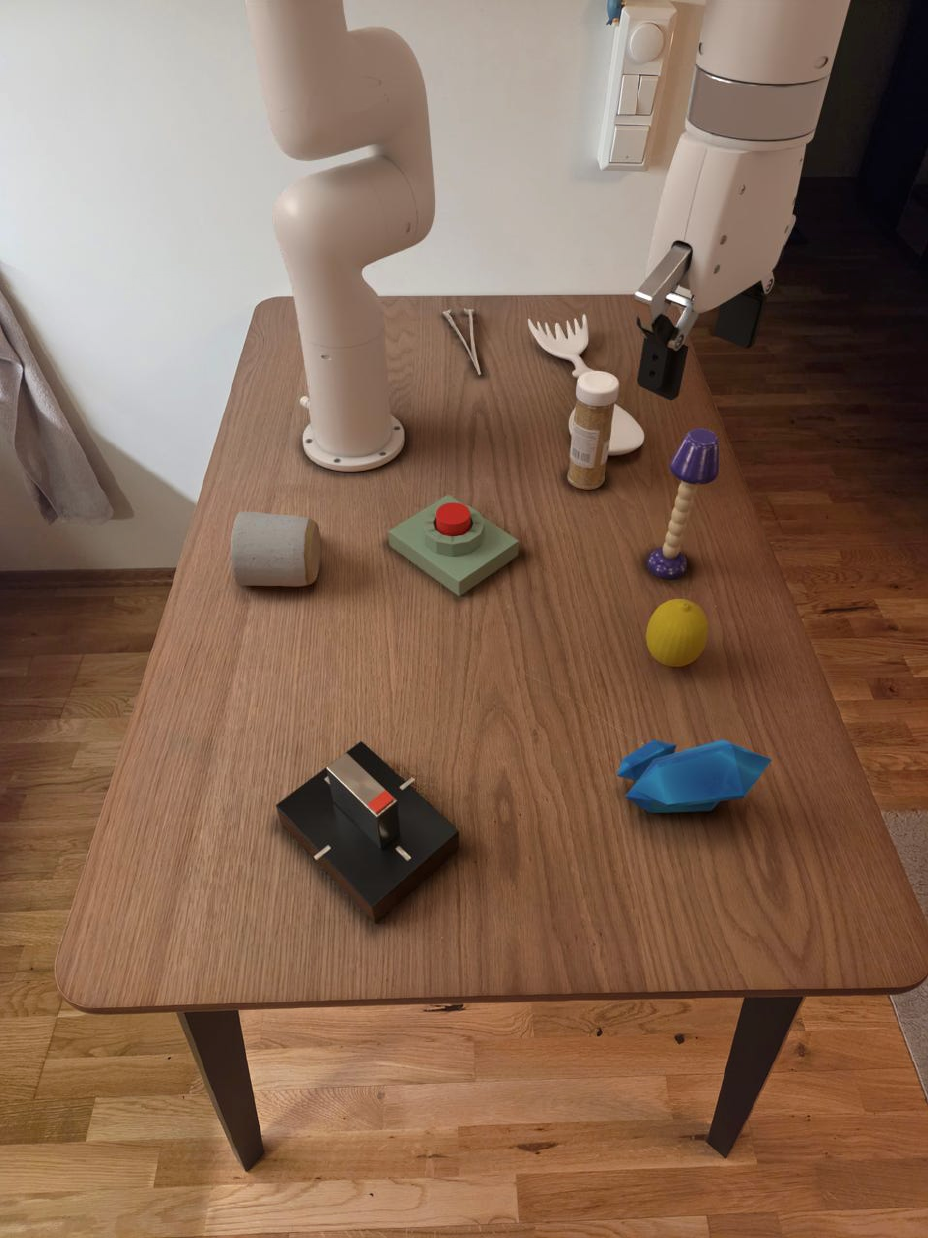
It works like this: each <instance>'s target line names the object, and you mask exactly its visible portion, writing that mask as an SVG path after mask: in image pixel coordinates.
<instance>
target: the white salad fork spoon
mask: <svg viewBox="0 0 928 1238" xmlns="http://www.w3.org/2000/svg"><path fill="white" fill-rule="evenodd" d="M573 321H574V331H573V329H572V327H571V324H570V321H569V320H566V331H567V332H566V333H567V336H566V335H565V332H564V331H563V329H562V326H561V325H560V324H559V323H558V322H556V323H555V324H554V332H555V337H554V335H553V334H552V331H551V329H550V326H549V324H548V322H547V321H546V322H545V323H544V326H545V330H544V329H543V327H542V325H541V323H540V321H537V322H536V323H537V325H536V326H537V328H536V327H535V325H534V323H533V322H532V320H531V318H528V319H527V325H528V328H529V330H530V333H531V334H532V336H533V337H534V338H535V340H536V342H537V343H538V345H539V346H540V347H541V348H542V349H543V350H544V351H545V352H547V353H548V354H550V355H551V356H554V357H556V358H558V359H562V360H566V361H570V362H572V364H573V366H574V368H575V369H574V370H572V372H571V374H572V377H573V378H574V379H578V378H579V377H580V376H581V375H582V374H584V373H586V372H590V371H595V370H594V369H592V368H590V367H588V366H587V365H586V364H585V362H584V360H583V359H582V357H581V356H580V355H582V353H583V352H584V351H585V349H586V348H587V347H588V345H589V325H588V319H587V316H586V314H584V313H583V314H582V327H581V326H580V324H579V322H578V319H577V318H576V317H574V320H573ZM574 333H575V334H574ZM575 409H576V406H575V407H574V409H573V410H572V412H571V414H570V416H569V418H568V430H569V433H570V436H571V437H572V431H573V422H574V416H575ZM644 441H645V433H644V431H643V428H642V427H641V426H640V424H639V423H638V422H637V421H636V419H635V418H634V417H633V416H632V415H631V414H630V413H628V412H627V411H626V410H625V409H623V408H622V407H621V406H619V405H618V404H616V403H615V404H614V411H613V417H612V425H611V435H610V442H609V450H608V456H622V455H626V454H629V453H631V452H633V451H635V450H637V449H639V448H640V447H641V445H643V443H644Z"/></svg>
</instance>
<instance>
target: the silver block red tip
mask: <svg viewBox="0 0 928 1238" xmlns="http://www.w3.org/2000/svg"><path fill="white" fill-rule="evenodd" d="M344 753H345V754H344ZM344 753H343V754H342V755H340V756H341V757H340V756H339V757H338V758H336V759H337V760H336V759H335V760H333V763H332V762H331V763H330V764H328V765H329V766H328V765H327V766H326V767H325V768H326V769H327V774H328V778H329V783H330V788H331V793H332V798H333V802H334V803H335V804H336V805H337V806H338V807H339V808H340V809H341V810H342V811H343V812H344V813H345V814H346V815H347V816H348V817H349V818H350V819H351V820H352V821H353V822H354V823H355V824H356V825H357V826H358V827H359V828H360V829H361V830H362V831H363V832H364V833H365V834H366V835H367V836H368V837H369V838H370V839H371V840H372V841H373V842H374V843H375V844H376V845H377V846H378V847H379V848H380V849H383V848H384V847H385V846H386V845H387V844H389V843H390V842H391V841H392V840H393V839H395V838H396V837H397V836H398V835H399V834H400V826H399V816H398V806H397V800H396V799H395V798H394V797H393V796H392V795H391V794H390V793H389V792H387V791H386V790H385V789H384V788H383V787H382V786H381V785H380V784H379V783H378V782H377V781H376V780H375V779H374V778H373V777H372V776H371V775H369V774H368V773H367V772H366V771H365V770H364V769H363V768H362V767H361V766H360V765H359V764H358V763H357V762H356V761H355V760H354V759H353V758H351V757H350V756H349V755H348V754H347V753H346V752H344Z"/></svg>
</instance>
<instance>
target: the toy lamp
mask: <svg viewBox="0 0 928 1238" xmlns="http://www.w3.org/2000/svg"><path fill="white" fill-rule="evenodd" d="M669 470H670V472H671V473H672V476H674V477H675V478H676V479H678V480H680V481H681V483H680V484H679V486H678V488H677V495H676V497H675V500H674V507H673V509H672V511H671V519H670V520H669V522H668V528H667V529H668V531H667V532H666V535H665V542H664V543H663V546H662V547H659V548H656V549H655V550H654V551H652V552H651V553H650V555H649V557H648V558H647V560H646V566H647V569H648V570H649V572H650V573H651V574H652V575H654V576H655V577H657V578H660V579H664V580H677V579H680V578H681V577H683V576H684V575H685V574H686V573H687V569H688V564H687V563H688V562H687V559H686V557H685V555H684V554H683V553H682V552H681V545H682V543H683V541H684V533H685V532H686V530H687V528H688V527H687V525H688V523H687V522H688V521H689V519H690V516H691V508H692V507H693V505H694V497H695V496H696V495H697V492H698V485H707V484H710V483H713V482H714V481H715V480H716V479H717V477H718V476H719V472H720V442H719V437H718V436H717V434H716V433H714V432H713V431H711V430H710V429H707V428H694V429H691V430H689V431H688V432H687V433H686V435H685V436H684V438H683V439H682V441H681V443H680V445H679V446H678V448H677V450H676V451H675V453H674V455H673V456H672V458H671V460H670V463H669Z"/></svg>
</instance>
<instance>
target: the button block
mask: <svg viewBox="0 0 928 1238" xmlns="http://www.w3.org/2000/svg"><path fill="white" fill-rule="evenodd" d="M451 502H456V503H461V504H463V505H465V506H466V507H468V509H469V510H470V529H469V530H468V532H466V533H465V534H463V535H459V536H453V537H452V536H447V535H443V534H441V533H440V532H439V531H438V530H437V527H436V511H437V509H438V508H439V507H440V506H441V505H443V504H446V503H451ZM388 543H389V545H388V546H389V547H391V548H392V549H393V550H394V551H396V552H398V554H400V555H402V556H403V557H404V558H405V559H407V560H409V561H410V562H411V563H412V564H414V565H415V566H416V567H418V568H419V569H421V570H422V571H423V572H425V573H426V574H428V575H429V576H430V577H432V578H433V579H434V580H436V581H437V582H439V583H440V584H441V585H442V586H443V587H446V588H447V589H448V590H449V591H451V592H452V593H453V594H455V595H456V596H458V597H461V596H462V595H464V594H465V593H467V592H468V591H469V590H471V589H472V588H474V587H475V586H477V585H478V584H479V583H481V582H482V581H484V580H485V579H487V578H488V577H489V576H491V575H492V574H493V573H495V572H496V571H498V570H499V569H501V568H503V566H505V565H506V564H508V563H509V562H511V561H512V560H515V558H517V557H518V556H519V545H520V540H519V539H518V538H516V537H514V536H512V535H511V534H510V533H508V532H506V530H504V529H502V528H500V527H499V526H497V525H496V524H494V523H493V522H492V521H490V520H488V519H487V518H485V517H484V516H482V513H481V512H480V511H478V510H477V509H475V508H473V507H472V506H471V505H468V504H464V503H463V502H461V501H460V500H458V499H456V498H454V497H453V496H452V495H450V494H446V495H444V496H443V497H441V498H440V499H438V500H436V501H434V502H433V503H432V504H430V505H428V506H426V507H425V508H424V509H422V510H420V511H418V512H417V513H415V514H414V515H412V516H410V517H409V518H407V519H405V520H404V521H402V522H400V523H399V524H397V525H395V526H394V527H392V528H391V529H389V530H388Z"/></svg>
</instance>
